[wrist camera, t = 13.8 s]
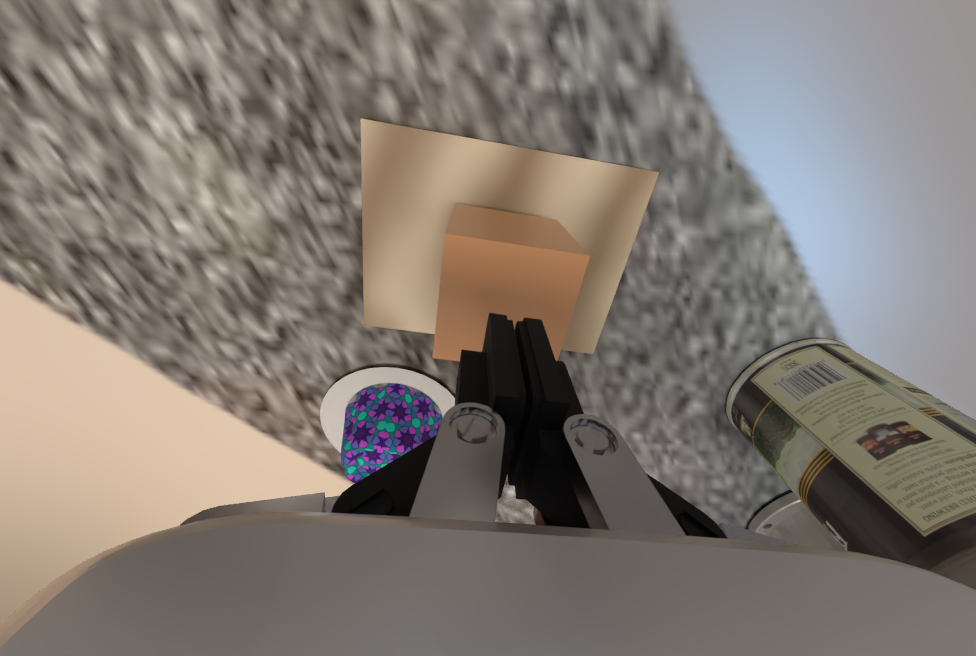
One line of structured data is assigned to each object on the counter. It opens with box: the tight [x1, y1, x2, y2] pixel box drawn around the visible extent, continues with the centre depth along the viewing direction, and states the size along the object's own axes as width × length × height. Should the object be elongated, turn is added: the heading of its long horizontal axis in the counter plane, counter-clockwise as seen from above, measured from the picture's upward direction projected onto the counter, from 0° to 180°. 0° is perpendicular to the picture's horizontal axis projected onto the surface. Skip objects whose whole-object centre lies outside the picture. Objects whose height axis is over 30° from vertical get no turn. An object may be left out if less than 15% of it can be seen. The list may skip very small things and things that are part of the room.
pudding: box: [320, 367, 455, 483], centre depth 27 cm, size 12×12×5 cm
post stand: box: [361, 119, 659, 354], centre depth 19 cm, size 16×12×8 cm
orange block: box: [432, 203, 590, 361], centre depth 17 cm, size 6×6×7 cm
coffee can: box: [726, 339, 976, 590], centre depth 22 cm, size 10×10×14 cm
